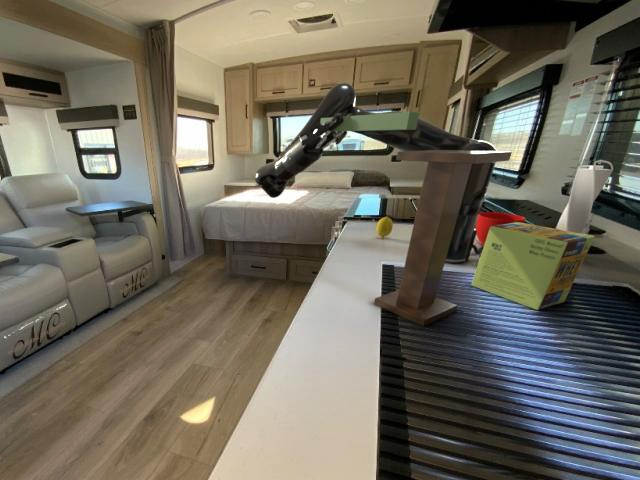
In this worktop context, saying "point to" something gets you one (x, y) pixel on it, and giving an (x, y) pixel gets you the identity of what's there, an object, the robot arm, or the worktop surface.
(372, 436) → the worktop surface
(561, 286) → the protein box
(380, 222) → the lemon
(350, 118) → the sage bar
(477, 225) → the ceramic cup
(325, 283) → the worktop surface
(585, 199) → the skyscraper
